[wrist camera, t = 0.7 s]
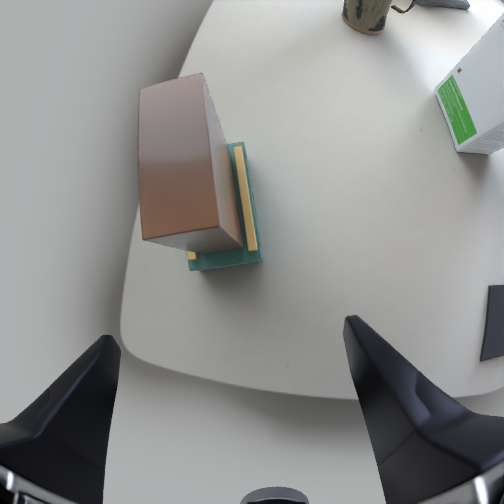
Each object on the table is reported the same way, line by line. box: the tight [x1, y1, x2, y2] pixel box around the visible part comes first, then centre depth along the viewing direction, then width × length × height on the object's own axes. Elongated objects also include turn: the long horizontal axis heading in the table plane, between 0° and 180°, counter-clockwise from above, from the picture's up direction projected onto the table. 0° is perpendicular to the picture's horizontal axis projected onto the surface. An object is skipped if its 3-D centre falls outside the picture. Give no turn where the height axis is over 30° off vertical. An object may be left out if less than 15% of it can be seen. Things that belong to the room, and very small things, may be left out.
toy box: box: [187, 142, 263, 271], centre depth 21 cm, size 9×5×4 cm, turn 8°
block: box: [138, 73, 244, 254], centre depth 15 cm, size 7×3×10 cm, turn 8°
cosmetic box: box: [434, 13, 504, 154], centre depth 15 cm, size 8×7×16 cm
